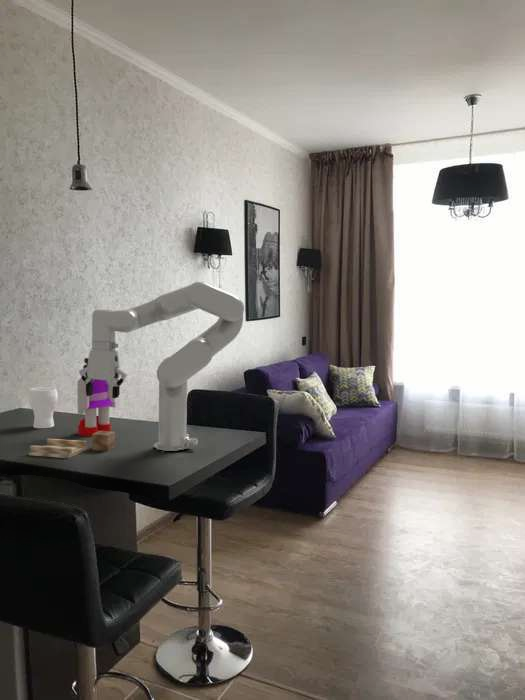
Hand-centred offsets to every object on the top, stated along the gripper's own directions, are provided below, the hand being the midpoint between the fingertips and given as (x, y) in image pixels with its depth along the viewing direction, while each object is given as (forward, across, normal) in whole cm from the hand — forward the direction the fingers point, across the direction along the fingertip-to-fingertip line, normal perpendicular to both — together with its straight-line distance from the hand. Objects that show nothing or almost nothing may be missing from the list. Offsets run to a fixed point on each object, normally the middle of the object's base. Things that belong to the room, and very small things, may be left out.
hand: (102, 396), depth 192 cm
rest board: (+18, +11, +9) cm, 23 cm away
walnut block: (+18, -1, 0) cm, 18 cm away
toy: (+18, +14, -20) cm, 30 cm away
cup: (+18, +38, -23) cm, 48 cm away
